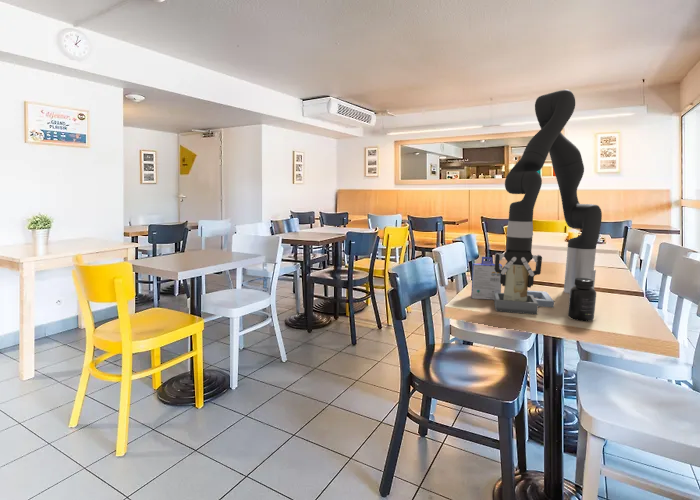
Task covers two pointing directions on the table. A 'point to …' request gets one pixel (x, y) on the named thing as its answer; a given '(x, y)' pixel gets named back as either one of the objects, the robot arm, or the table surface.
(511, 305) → the parts tray
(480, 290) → the ink cartridge box
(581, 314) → the supplement bottle
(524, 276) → the skincare box
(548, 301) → the socket block
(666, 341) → the table surface
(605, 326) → the table surface
